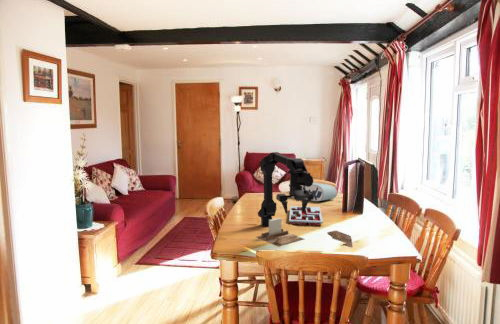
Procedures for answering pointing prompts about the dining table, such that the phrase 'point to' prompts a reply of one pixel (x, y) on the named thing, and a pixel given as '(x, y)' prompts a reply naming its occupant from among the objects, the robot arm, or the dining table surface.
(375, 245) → the dining table surface
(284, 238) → the upper oak offcut
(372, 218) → the dining table surface
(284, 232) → the walnut rack
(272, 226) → the taupe rectangular block
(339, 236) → the wooden fragment
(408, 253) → the dining table surface
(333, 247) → the dining table surface
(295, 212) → the maze game
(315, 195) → the grey rounded oval block
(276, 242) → the lower oak offcut
